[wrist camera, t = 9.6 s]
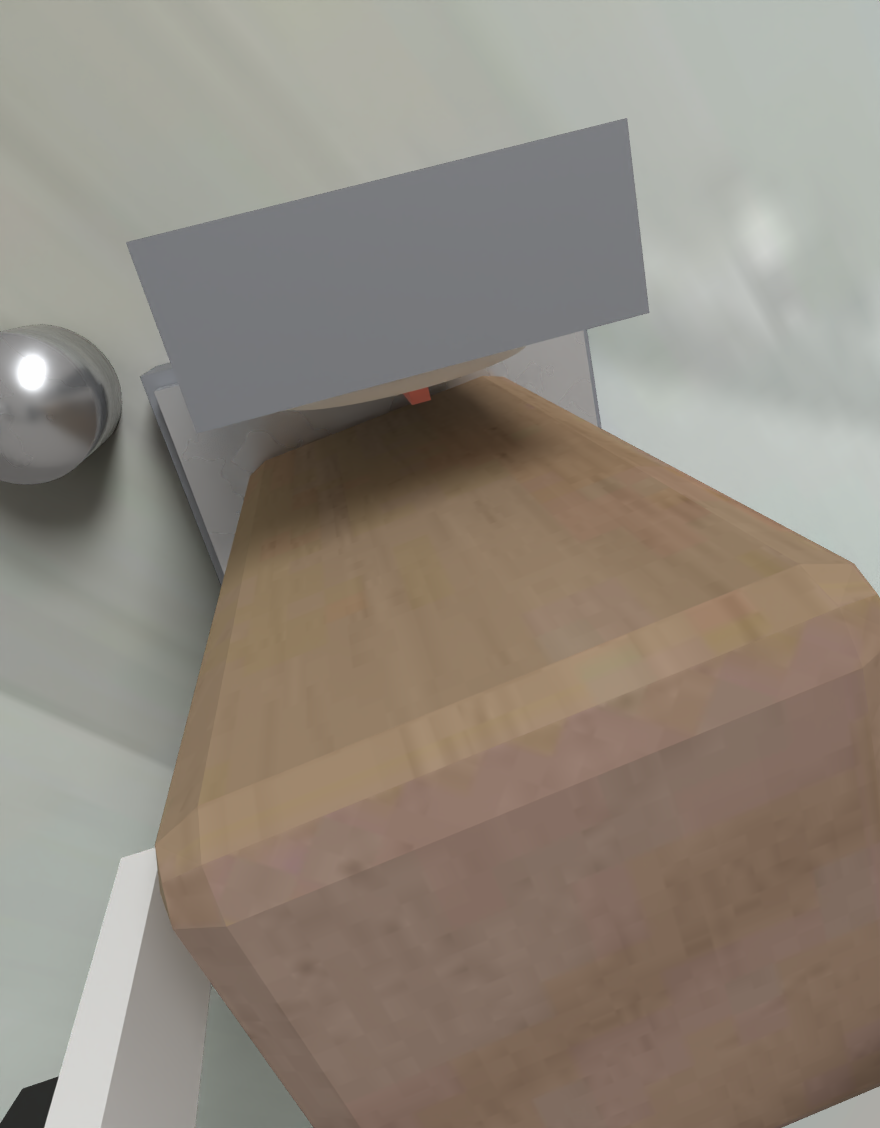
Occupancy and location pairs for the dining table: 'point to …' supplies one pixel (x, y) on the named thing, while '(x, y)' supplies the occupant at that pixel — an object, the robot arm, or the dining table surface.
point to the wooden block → (532, 785)
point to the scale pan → (341, 427)
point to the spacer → (52, 402)
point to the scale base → (394, 282)
